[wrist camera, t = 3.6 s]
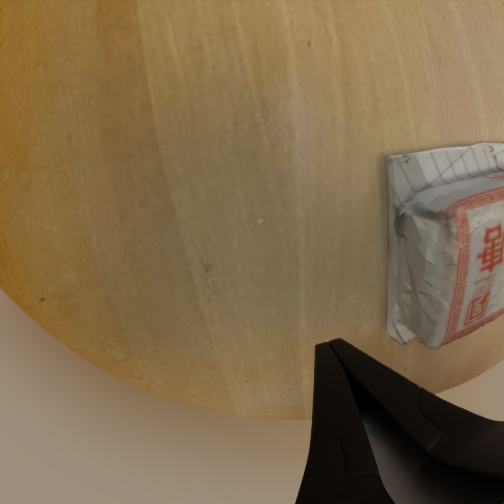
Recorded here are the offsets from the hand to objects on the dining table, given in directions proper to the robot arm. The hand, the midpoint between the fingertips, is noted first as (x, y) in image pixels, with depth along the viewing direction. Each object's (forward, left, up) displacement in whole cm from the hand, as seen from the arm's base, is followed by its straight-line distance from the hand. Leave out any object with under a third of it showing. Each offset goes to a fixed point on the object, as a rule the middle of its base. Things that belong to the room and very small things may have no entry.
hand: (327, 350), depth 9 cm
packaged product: (0, -14, -5) cm, 15 cm away
